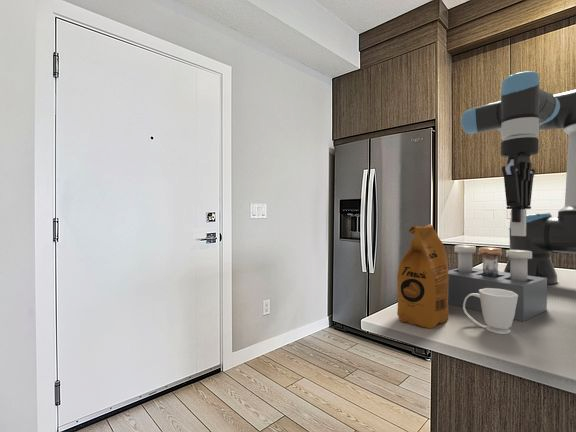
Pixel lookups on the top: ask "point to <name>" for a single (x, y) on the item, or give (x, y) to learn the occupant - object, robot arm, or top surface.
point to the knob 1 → (465, 258)
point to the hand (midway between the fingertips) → (518, 235)
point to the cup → (496, 309)
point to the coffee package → (423, 280)
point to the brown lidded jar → (490, 261)
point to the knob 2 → (519, 264)
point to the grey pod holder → (529, 293)
